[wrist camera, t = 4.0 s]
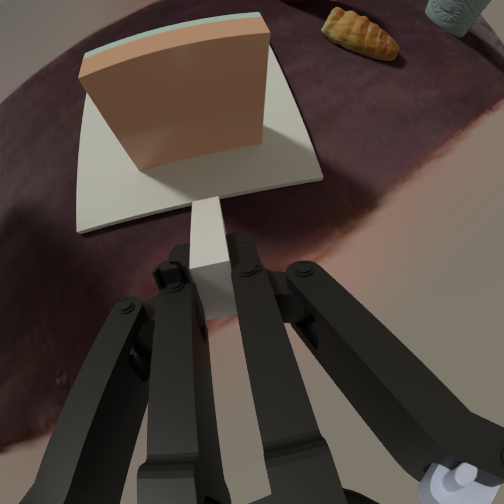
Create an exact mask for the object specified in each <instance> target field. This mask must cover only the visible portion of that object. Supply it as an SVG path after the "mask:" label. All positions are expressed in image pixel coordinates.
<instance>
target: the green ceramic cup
mask: <svg viewBox="0 0 504 504" xmlns="http://www.w3.org/2000/svg"><path fill="white" fill-rule="evenodd" d="M490 1H491V0H429V2H428V4H427V7H426V10H425V13H426V15H427V16H428V17H429V18H430V19H431V20H432V21H433V22H434V23H435V24H436V25H438V26H439V27H441V28H442V29H443V30H445V31H447V32H448V33H450V34H452V35H454V36H456V37H460V38H462V37H464V36H465V35H466V33H467V32H468V30H469V28H470V27H471V26H472V24H473V23H474V21H476V19H477V18H478V16H479V15H480V14H481V12H482V11H483V10H484V9H485V8H486V6H487V5H488V4H489V2H490Z"/></svg>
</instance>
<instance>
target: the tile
mask: <svg viewBox="0 0 504 504" xmlns="http://www.w3.org/2000/svg"><path fill="white" fill-rule="evenodd" d="M269 41H270V31H269V29H268V28H267V26H266V24H265V22H264V20H263V18H262V17H261V15H260V13H259V12H254V13H242V14H233V15H225V16H218V17H211V18H205V19H199V20H194V21H189V22H184V23H179V24H175V25H171V26H166V27H162V28H159V29H155V30H151V31H147V32H144V33H141V34H137V35H134V36H131V37H128V38H125V39H122V40H119V41H116V42H113V43H110V44H108V45H105V46H102V47H100V48H97V49H94V50H92V51H90V52H87V53H85V55H84V58H83V62H82V65H81V69H80V73H79V77H78V79H79V81H80V82H81V84H82V85H83V87H84V89H85V90H86V92H87V93H88V95H89V96H90V98H91V100H92V101H93V103H94V104H95V106H96V107H97V109H98V111H99V112H100V114H101V115H102V117H103V118H104V120H105V121H106V123H107V124H108V126H109V127H110V129H111V130H112V132H113V133H114V135H115V136H116V138H117V139H118V141H119V142H120V144H121V145H122V147H123V148H124V150H125V151H126V153H127V154H128V156H129V157H130V159H131V160H132V161H133V163H134V164H135V166H136V167H137V169H138V170H139V171H141V170H144V169H148V168H152V167H155V166H159V165H163V164H167V163H171V162H175V161H179V160H183V159H188V158H192V157H197V156H201V155H206V154H210V153H215V152H220V151H225V150H230V149H236V148H241V147H247V146H252V145H258V144H262V132H263V119H264V106H265V93H266V80H267V67H268V54H269Z"/></svg>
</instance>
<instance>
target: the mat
mask: <svg viewBox="0 0 504 504" xmlns="http://www.w3.org/2000/svg"><path fill="white" fill-rule="evenodd" d="M322 179H323V174H322V171H321V168H320V166H319V163H318V160H317V157H316V154H315V152H314V149H313V146H312V144H311V141H310V138H309V136H308V133H307V130H306V128H305V125H304V123H303V120H302V118H301V115H300V113H299V110H298V108H297V105H296V103H295V100H294V98H293V96H292V93H291V91H290V89H289V86H288V84H287V82H286V79H285V77H284V75H283V73H282V70H281V68H280V66H279V64H278V62H277V60H276V57H275V55H274V53H273V51H272V49H271V47H270V45H269V54H268V67H267V80H266V93H265V106H264V119H263V132H262V144H258V145H252V146H247V147H241V148H236V149H230V150H225V151H220V152H215V153H210V154H206V155H201V156H197V157H192V158H188V159H183V160H179V161H175V162H171V163H167V164H163V165H159V166H155V167H152V168H148V169H144V170H141V171H139V170H138V169H137V167H136V166H135V164H134V163H133V161H132V160H131V159H130V157H129V156H128V154H127V153H126V151H125V150H124V148H123V147H122V145H121V144H120V142H119V141H118V139H117V138H116V136H115V135H114V133H113V132H112V130H111V129H110V127H109V126H108V124H107V123H106V121H105V120H104V118H103V117H102V115H101V114H100V112H99V111H98V109H97V107H96V106H95V104H94V103H93V101H92V100H91V98H90V96H89V95H88V93H87V94H86V100H85V106H84V113H83V120H82V128H81V136H80V146H79V158H78V173H77V206H76V215H77V232H78V233H79V234H82V233H86V232H89V231H93V230H96V229H100V228H104V227H107V226H111V225H115V224H118V223H122V222H126V221H130V220H133V219H137V218H141V217H145V216H149V215H153V214H157V213H161V212H166V211H170V210H174V209H178V208H183V207H187V206H191V205H192V202H194V201H198V200H203V199H208V198H212V197H217V196H219V199H224V198H228V197H233V196H238V195H243V194H248V193H253V192H259V191H264V190H269V189H275V188H280V187H286V186H292V185H297V184H303V183H309V182H316V181H322Z"/></svg>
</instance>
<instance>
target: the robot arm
mask: <svg viewBox="0 0 504 504" xmlns="http://www.w3.org/2000/svg"><path fill="white" fill-rule="evenodd" d="M152 274H153V276H154V279H155V281H156V283H157V286H158V288H159V294H158V295H157V296H156V297H154V298H152V299H150V300H147V301H145V302H143V303H142V301H141V299H139V298H138V297H134V296H131V297H126V298H124V299H121V300H120V301H119V302H117V303H116V304H115V305H114V307H113V308H112V310H111V312H110V314H109V315H108V317H107V319H106V321H105V323H104V324H103V326H102V328H101V330H100V332H99V334H98V336H97V338H96V339H95V341H94V343H93V345H92V347H91V349H90V351H89V353H88V355H87V357H86V359H85V361H84V363H83V365H82V367H81V369H80V371H79V373H78V375H77V378H76V380H75V382H74V384H73V386H72V388H71V390H70V393H69V395H68V397H67V399H66V402H65V404H64V406H63V408H62V411H61V413H60V415H59V418H58V420H57V423H56V425H55V428H54V430H53V433H52V435H51V438H50V440H49V443H48V445H47V448H46V451H45V454H44V456H43V459H42V462H41V465H40V468H39V471H38V474H37V477H36V480H35V483H34V484H33V485H32V487H31V488H30V489H29V491H28V492H27V494H26V495H25V496H24V498H23V499H22V500H21V502H20V503H19V504H120V500H121V496H122V492H123V488H124V484H125V481H126V476H127V473H128V469H129V465H130V462H131V458H132V454H133V451H134V447H135V444H136V440H137V436H138V433H139V430H140V426H141V423H142V420H143V416H144V413H145V410H146V407H147V403H148V426H147V459H146V462H145V463H143V464H142V465H140V467H139V469H138V473H137V504H231V499H230V494H229V491H228V488H227V485H226V483H225V480H224V475H223V468H222V461H221V454H220V446H219V440H218V439H219V438H218V431H217V422H216V414H215V404H214V395H213V385H212V376H211V364H210V354H209V341H208V329H207V326H206V324H205V318H204V314H205V317H206V320H212V319H217V318H222V317H227V316H232V315H237V314H238V320H239V325H240V331H241V336H242V342H243V347H244V352H245V358H246V363H247V369H248V374H249V379H250V384H251V390H252V395H253V400H254V404H255V410H256V415H257V419H258V425H259V430H260V434H261V439H262V444H263V450H264V459H265V465H266V469H267V474H268V478H269V483H270V487H271V492H272V494H271V495H269V496H267V497H264V498H262V499H259V500H257V501H254V502H252V503H249V504H379V503H377V502H375V501H374V500H371V499H370V498H368V497H366V496H364V495H362V494H360V493H357V492H355V491H352V490H348V489H344V488H342V486H341V482H340V479H339V476H338V473H337V470H336V467H335V464H334V461H333V458H332V455H331V452H330V449H329V447H328V444H327V442H326V440H325V439H324V438H323V437H322V436H321V434H320V431H319V428H318V425H317V422H316V419H315V416H314V413H313V410H312V407H311V404H310V401H309V398H308V395H307V392H306V389H305V386H304V383H303V380H302V377H301V374H300V371H299V368H298V365H297V362H296V359H295V356H294V353H293V350H292V347H291V344H290V341H289V338H288V335H287V332H286V329H285V326H284V323H290V324H291V326H292V328H293V329H294V330H295V331H296V333H297V334H298V335H299V337H300V338H301V339H302V341H303V342H304V343H305V345H306V346H307V347H308V348H309V350H310V351H311V352H312V354H313V355H314V356H315V358H316V359H317V360H318V362H319V363H320V364H321V366H322V367H323V368H324V369H325V371H326V372H327V373H328V375H329V376H330V377H331V378H332V380H333V381H334V382H335V384H336V385H337V386H338V387H339V389H340V390H341V392H342V393H343V394H344V395H345V397H346V398H347V399H348V401H349V402H350V403H351V404H352V406H353V407H354V408H355V410H356V411H357V412H358V413H359V415H360V416H361V417H362V419H363V420H364V421H365V422H366V424H367V425H368V426H369V427H370V429H371V430H372V431H373V432H374V434H375V435H376V436H377V438H378V439H379V440H380V441H381V443H382V444H383V445H384V446H385V448H386V449H387V450H388V452H389V453H390V454H391V455H392V457H393V458H394V459H395V460H396V461H397V462H398V464H399V465H400V466H401V467H402V468H403V469H404V470H405V471H406V472H407V473H408V474H410V475H411V476H412V477H413V478H415V479H416V480H418V481H419V482H420V484H419V486H418V489H417V498H418V500H419V503H420V504H491V502H492V501H493V499H494V497H495V494H496V492H497V491H498V489H499V487H500V485H501V484H503V483H504V427H501V426H499V425H497V424H495V423H493V422H490V421H489V420H486V419H484V418H482V417H480V416H478V415H476V414H474V413H472V412H470V411H469V410H468V409H467V408H466V407H465V406H464V405H463V403H462V402H461V401H460V400H459V399H458V398H457V397H456V396H455V395H454V394H453V393H452V392H451V391H450V390H449V389H448V388H447V387H446V386H445V385H444V384H443V383H442V382H441V381H440V380H439V379H438V378H437V377H436V376H435V375H434V374H433V373H432V372H431V371H430V370H429V369H428V368H427V367H426V366H425V365H424V364H423V363H422V362H421V361H420V360H419V359H418V358H417V357H416V356H415V355H414V354H413V353H412V352H411V351H410V350H409V349H408V348H407V347H406V346H405V345H404V344H403V343H402V342H401V341H400V340H399V339H398V338H397V337H396V336H395V335H393V334H392V333H391V332H390V331H389V330H388V329H387V328H386V327H385V326H384V325H383V324H382V323H381V322H380V321H379V320H378V319H377V318H376V317H375V316H374V315H373V314H371V313H370V312H369V311H368V310H367V309H366V308H365V307H364V306H363V305H362V304H361V303H360V302H358V300H356V299H355V298H354V297H353V296H352V295H351V294H350V293H349V292H348V291H347V290H346V289H345V288H343V287H342V286H341V285H340V284H339V283H338V282H337V281H336V280H335V279H334V278H333V277H331V276H330V275H329V274H328V273H327V272H326V271H325V270H324V269H323V268H322V267H320V266H319V265H318V264H316V263H315V262H312V261H298V262H294V263H292V264H291V265H289V266H288V268H287V269H286V272H274V271H270V270H268V269H266V268H265V267H264V266H263V264H261V261H260V258H259V255H258V252H257V249H256V246H255V243H254V240H253V237H252V235H251V234H250V233H249V232H247V231H241V232H236V233H231V234H226V230H225V225H224V220H223V215H222V211H221V206H220V201H219V196H217V197H212V198H208V199H203V200H198V201H194V202H192V217H191V238H190V243H187V244H183V245H178V246H174V248H173V249H172V250H171V252H170V255H169V260H167V261H164V262H162V263H160V264H159V265H157V266H156V267H155V268H154V270H153V272H152Z"/></svg>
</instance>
